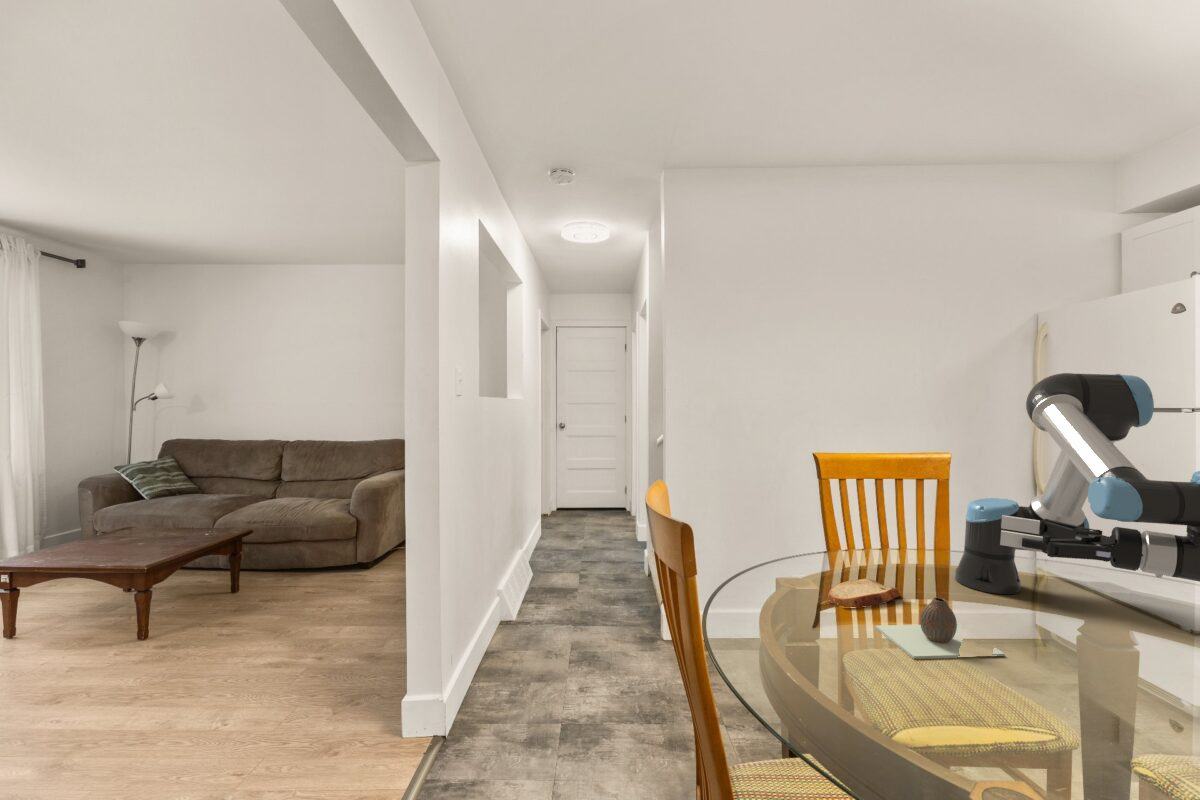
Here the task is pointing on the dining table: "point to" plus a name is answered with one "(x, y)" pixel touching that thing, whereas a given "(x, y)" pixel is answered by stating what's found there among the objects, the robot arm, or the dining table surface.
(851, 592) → the slice of bread
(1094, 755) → the dining table surface
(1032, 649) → the dining table surface
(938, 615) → the vase
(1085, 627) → the dining table surface
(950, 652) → the mat
